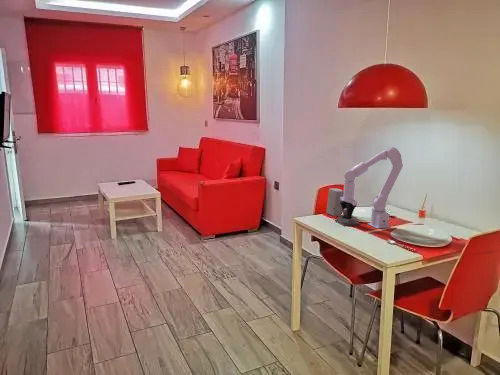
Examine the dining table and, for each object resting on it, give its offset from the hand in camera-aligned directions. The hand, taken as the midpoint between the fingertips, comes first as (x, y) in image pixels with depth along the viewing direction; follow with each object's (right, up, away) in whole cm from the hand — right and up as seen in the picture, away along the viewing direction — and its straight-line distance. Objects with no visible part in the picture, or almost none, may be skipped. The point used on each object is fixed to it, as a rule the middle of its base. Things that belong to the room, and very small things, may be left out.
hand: (347, 215), depth 219 cm
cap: (0, -1, 0) cm, 2 cm away
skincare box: (-3, -1, +20) cm, 20 cm away
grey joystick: (0, -5, +1) cm, 5 cm away
